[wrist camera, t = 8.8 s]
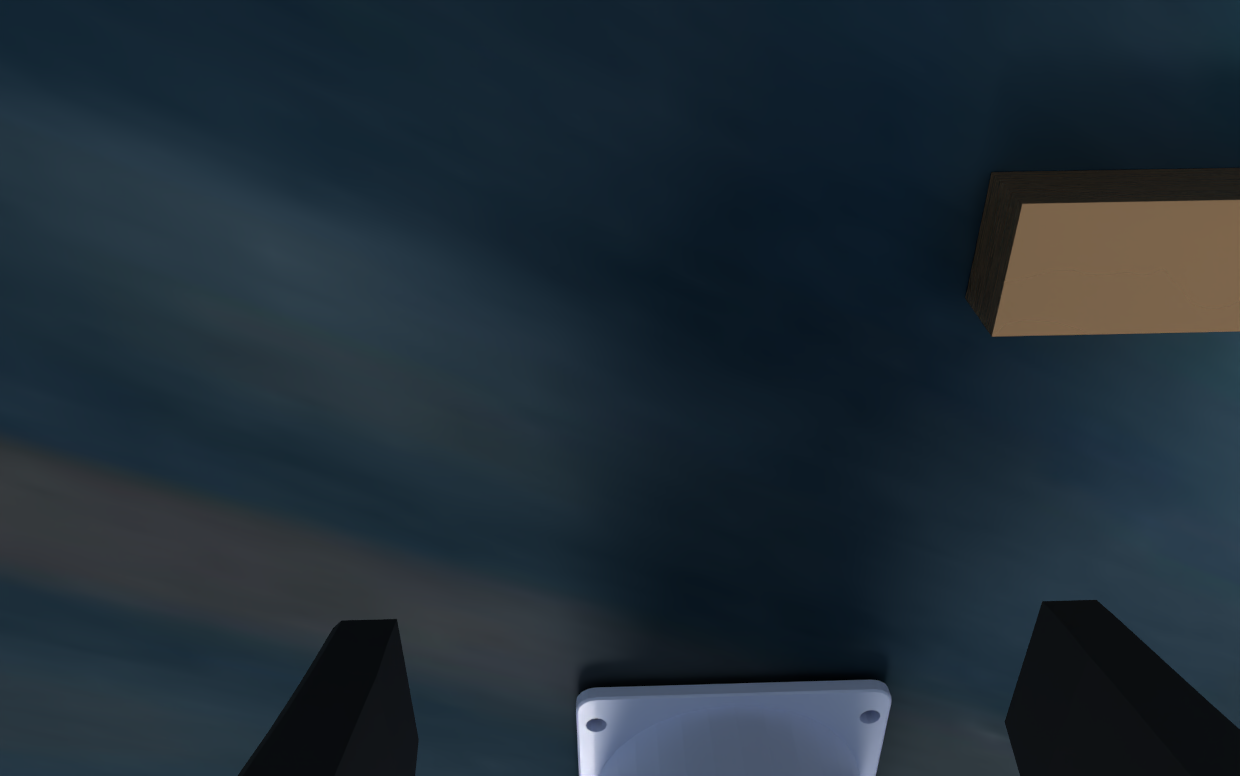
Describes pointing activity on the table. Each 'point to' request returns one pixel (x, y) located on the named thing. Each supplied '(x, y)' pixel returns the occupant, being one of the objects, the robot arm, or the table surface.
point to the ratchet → (1109, 252)
